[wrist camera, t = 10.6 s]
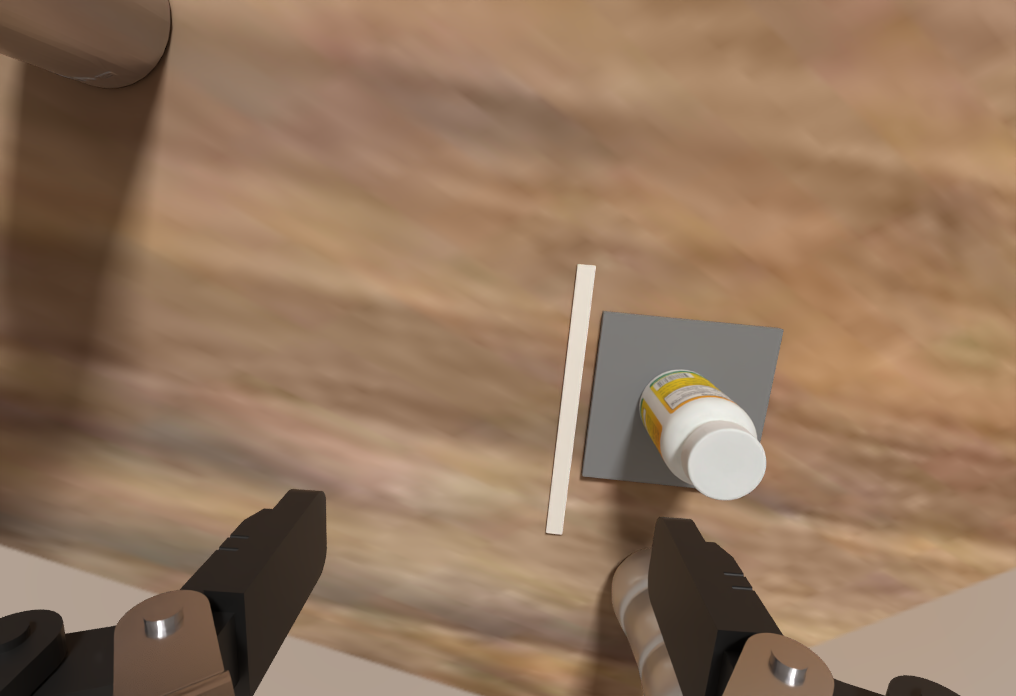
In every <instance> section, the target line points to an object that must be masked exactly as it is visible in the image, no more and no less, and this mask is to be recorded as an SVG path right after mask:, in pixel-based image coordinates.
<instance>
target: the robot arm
mask: <svg viewBox="0 0 1016 696" xmlns="http://www.w3.org/2000/svg"><path fill="white" fill-rule="evenodd" d="M169 31H170V6H169V1H168V0H0V54H3V55H6V56H9V57H11V58H14V59H17V60H20V61H23V62H26V63H29V64H31V65H34V66H37V67H40V68H43V69H46V70H48V71H50V72H54V73H55V74H58V75H60V76H63V77H66V78H70V79H73V80H77V81H80V82H83V83H86V84H88V85H92V86H97V87H102V88H120V87H123V86H127V85H130V84H133V83H135V82H137V81H138V80H140V79H142V78H144V77H145V76H146V75H147V74H148V73H149V72H150V71H151V70H152V69H153V68H154V67H155V66H156V65H157V63H158V61H159V60H160V58H161V57H162V55H163V53H164V50H165V47H166V44H167V42H168V38H169ZM326 551H327V538H326V497H325V494H324V492H323V491H312V490H299V489H291V490H289V491H288V492H287V493H286V494H285V496H284V497H283V498H282V499H281V500H280V501H279V503H278V504H277V505H276V506H275V507H274V508H273V509H263V510H261V511H259V512H257V513H256V514H254V515H252V516H250V517H249V518H247V519H245V520H244V521H243V522H242V523H241V524H240V525H239V526H238V527H237V528H236V529H235V531H234V532H233V533H232V534H231V536H230V538H227V539H226V540H225V541H224V542H223V543H222V545H221V546H220V547H219V550H216V551H215V552H214V553H213V554H212V555H211V556H210V558H209V559H208V560H207V561H206V562H205V563H204V564H203V565H202V566H201V567H200V568H199V569H198V570H197V572H196V573H195V574H194V575H193V576H192V577H191V578H190V579H189V580H188V581H187V582H186V583H185V585H184V586H183V587H182V588H181V589H180V590H176V591H170V592H166V593H162V594H159V595H156V596H153V597H151V598H149V599H146V600H144V601H143V602H141V603H139V604H137V605H136V606H134V607H133V608H132V609H130V610H129V611H128V612H127V613H126V614H125V615H124V616H123V617H122V618H121V619H120V620H119V622H118V623H117V625H116V626H111V627H105V628H99V629H92V630H86V631H80V632H74V633H67V634H65V631H64V625H63V620H62V617H61V616H60V615H59V614H58V613H56V612H54V611H50V610H30V611H24V612H19V613H15V614H11V615H8V616H5V617H2V618H0V696H253V695H254V693H255V691H256V690H257V688H258V686H259V684H260V682H261V681H262V679H263V677H264V675H265V673H266V672H267V670H268V668H269V666H270V665H271V663H272V661H273V659H274V658H275V656H276V654H277V652H278V650H279V649H280V647H281V645H282V643H283V641H284V639H285V638H286V636H287V634H288V633H289V631H290V629H291V627H292V626H293V624H294V622H295V620H296V618H297V617H298V615H299V613H300V611H301V610H302V608H303V606H304V604H305V602H306V601H307V599H308V597H309V595H310V594H311V592H312V590H313V588H314V586H315V585H316V583H317V581H318V579H319V577H320V575H321V573H322V570H323V567H324V563H325V559H326ZM648 593H649V599H650V603H651V606H652V608H653V611H654V614H655V617H656V620H657V623H658V626H659V629H660V631H661V634H662V637H663V640H664V643H665V646H666V649H667V651H668V654H669V657H670V660H671V663H672V666H673V669H674V672H675V674H676V677H677V680H678V683H679V686H680V689H681V692H682V695H683V696H884V695H881V694H878V693H875V692H872V691H869V690H866V689H863V688H859V687H856V686H853V685H850V684H847V683H844V682H841V681H838V680H836V679H834V678H833V676H832V673H831V671H830V670H829V668H828V667H827V665H826V664H825V663H824V662H823V660H822V659H821V658H820V657H819V656H818V655H817V654H815V653H814V652H813V651H812V650H810V649H809V648H807V647H806V646H804V645H803V644H801V643H799V642H797V641H795V640H793V639H791V638H788V637H785V636H783V634H782V633H781V631H780V630H779V628H778V627H777V625H776V623H775V622H774V620H773V619H772V617H771V616H770V614H769V613H768V611H767V609H766V608H765V606H764V605H763V603H762V602H761V600H760V599H759V597H758V595H757V594H756V592H755V591H753V590H752V586H751V585H750V583H749V581H748V580H747V578H746V577H744V576H743V572H742V571H741V569H740V567H739V566H738V564H737V563H736V561H735V560H734V558H733V557H732V556H731V555H730V554H728V553H727V552H726V551H725V550H723V549H722V548H721V547H720V546H719V545H717V544H716V543H714V542H705V540H704V539H703V537H702V535H701V533H700V532H699V530H698V528H697V527H696V525H695V523H694V522H693V520H691V519H682V518H669V517H659V518H658V519H657V522H656V526H655V532H654V538H653V545H652V551H651V558H650V564H649V571H648ZM885 696H960V695H958V694H957V693H955V692H953V691H951V690H950V689H948V688H946V687H944V686H942V685H940V684H938V683H935V682H933V681H930V680H927V679H924V678H920V677H915V676H907V675H904V676H898V677H895V678H893V679H892V680H891V681H890V683H889V686H888V689H887V692H886V695H885Z"/></svg>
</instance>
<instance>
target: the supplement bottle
mask: <svg viewBox="0 0 1016 696" xmlns="http://www.w3.org/2000/svg"><path fill="white" fill-rule="evenodd" d="M639 410H640V416H641V420H642V422H643V425H644V426H645V428H646V430H647V432H648V434H649V435H650V437H651V439H652V440H653V442H654V444H655V446H656V448H657V449H658V451H659V453H660V455H661V456H662V458H663V460H664V462H665V463H666V465H667V467H668V468H669V469H670V470H671V472H672V473H673V474H674V475H675V476H677V477H678V478H679V479H681V480H682V481H684V482H686V483H688V484H691V485H693V486H694V487H695V488H696V489H697V490H698V491H700V492H701V493H702V494H704V495H705V496H707V497H710V498H713V499H717V500H733V499H737V498H740V497H742V496H744V495H746V494H748V493H750V492H751V491H752V490H753V489H755V488H756V487H757V485H758V484H759V483H760V481H761V480H762V478H763V476H764V473H765V469H766V456H765V452H764V449H763V447H762V445H761V444H760V443H759V441H758V440H757V433H756V430H755V427H754V424H753V422H752V420H751V419H750V417H749V416H748V415H747V413H746V412H745V411H744V410H743V409H742V408H740V407H739V406H738V405H737V404H736V403H735V402H733V401H732V400H731V399H730V398H729V397H727V396H726V395H725V394H724V393H722V392H721V391H720V390H719V389H718V388H716V387H715V386H714V385H713V384H712V383H711V382H710V381H708V380H707V379H706V378H704V377H703V376H701V375H700V374H698V373H695V372H693V371H689V370H671V371H667V372H664V373H662V374H660V375H658V376H657V377H655V378H654V379H653V380H652V381H651V382H650V383H649V384H648V385H647V386H646V388H645V389H644V391H643V393H642V396H641V399H640V404H639Z"/></svg>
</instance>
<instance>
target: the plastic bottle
mask: <svg viewBox="0 0 1016 696" xmlns="http://www.w3.org/2000/svg"><path fill="white" fill-rule="evenodd" d="M651 551H652V548H645V549H641V550H639V551H637V552H634V553H633V554H631V555H630V556H628V557H627V558H626V559H625V560H624V561H623V562H622V563H621V564H620V565H619V567H618V568H617V570H616V572H615V574H614V576H613V581H612V605H613V609H614V612H615V615H616V617H617V619H618V621H619V624H620V626H621V627H622V629H623V631H624V633H625V635H626V636H627V638H628V641H629V644H630V646H631V649H632V652H633V655H634V657H635V660H636V663H637V665H638V669H639V674H640V678H641V682H642V689H643V694H644V696H683V695H682V692H681V689H680V686H679V683H678V680H677V677H676V674H675V672H674V669H673V666H672V663H671V660H670V657H669V654H668V651H667V649H666V646H665V643H664V640H663V637H662V634H661V631H660V629H659V626H658V623H657V620H656V617H655V614H654V611H653V608H652V606H651V603H650V599H649V593H648V571H649V564H650V558H651Z"/></svg>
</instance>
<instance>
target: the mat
mask: <svg viewBox="0 0 1016 696" xmlns="http://www.w3.org/2000/svg"><path fill="white" fill-rule="evenodd" d="M782 335H783V329H780V328H773V327H762V326H752V325H742V324H731V323H721V322H711V321H700V320H690V319H680V318H669V317H659V316H649V315H638V314H628V313H618V312H607V311H603V314H602V322H601V330H600V337H599V345H598V352H597V360H596V368H595V375H594V383H593V390H592V398H591V406H590V413H589V421H588V428H587V436H586V444H585V451H584V459H583V466H582V476H585V477H594V478H604V479H613V480H623V481H633V482H642V483H652V484H661V485H671V486H680V487H690V488H695V487H694V486H693V485H691V484H688V483H686V482H684V481H682V480H681V479H679V478H678V477H677V476H675V475H674V474H673V473H672V472H671V470H670V469H669V468H668V467H667V465H666V463H665V462H664V460H663V458H662V456H661V455H660V453H659V451H658V449H657V448H656V446H655V444H654V442H653V440H652V439H651V437H650V435H649V434H648V432H647V430H646V428H645V426H644V425H643V422H642V420H641V416H640V410H639V404H640V399H641V396H642V393H643V391H644V389H645V388H646V386H647V385H648V384H649V383H650V382H651V381H652V380H653V379H654V378H655V377H657V376H658V375H660V374H662V373H664V372H667V371H671V370H689V371H693V372H695V373H698V374H700V375H701V376H703V377H704V378H706V379H707V380H708V381H710V382H711V383H712V384H713V385H714V386H715V387H716V388H718V389H719V390H720V391H721V392H722V393H724V394H725V395H726V396H727V397H729V398H730V399H731V400H732V401H733V402H735V403H736V404H737V405H738V406H739V407H740V408H742V409H743V410H744V411H745V412H746V413H747V415H748V416H749V417H750V419H751V420H752V422H753V424H754V427H755V430H756V433H757V440H758V441H759V443H760V441H761V436H762V431H763V426H764V422H765V417H766V412H767V407H768V402H769V398H770V393H771V388H772V383H773V378H774V373H775V369H776V364H777V359H778V354H779V349H780V345H781V340H782ZM748 494H750V493H748Z"/></svg>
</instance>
